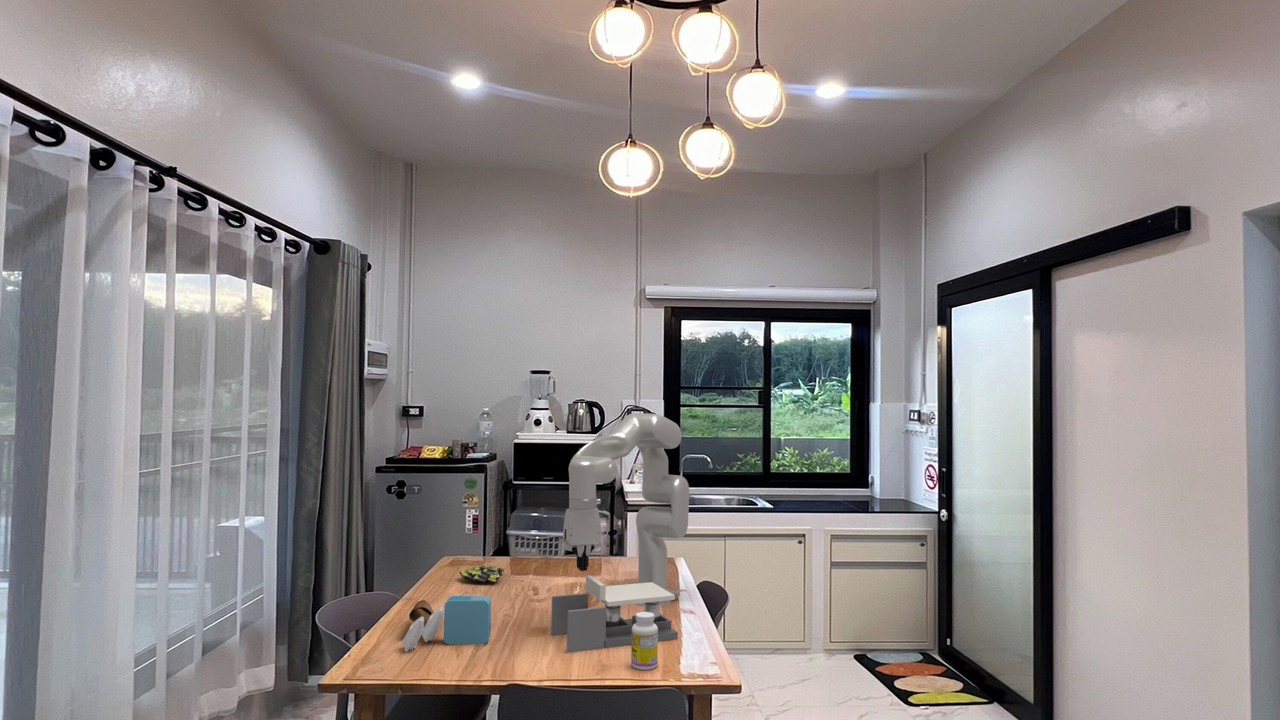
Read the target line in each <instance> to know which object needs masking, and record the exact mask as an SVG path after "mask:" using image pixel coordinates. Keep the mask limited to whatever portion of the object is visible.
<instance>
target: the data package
mask: <svg viewBox="0 0 1280 720" xmlns="http://www.w3.org/2000/svg"><path fill="white" fill-rule="evenodd" d="M443 608H444V612H443V642H444V644H445V645H447V644H476V645H475V646H479V645H478V644H484V645H487V643H488V641H489V640H490V638H491V634H492V633H491V632H492V630H491V629H492V628H491V626H492V599H491V597H489V596H487V595H453V596H449V598H448V599H447V601H446V602H445V603H444V606H443Z"/></svg>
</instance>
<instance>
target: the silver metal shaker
mask: <svg viewBox="0 0 1280 720" xmlns="http://www.w3.org/2000/svg"><path fill="white" fill-rule="evenodd" d="M643 608H644V610H643V612H651V613H653V614H654V621H653V622H660V614H661V613H660V612H661V610H660V608H661V607H660V601H657V602H648V603H644V606H643Z"/></svg>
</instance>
